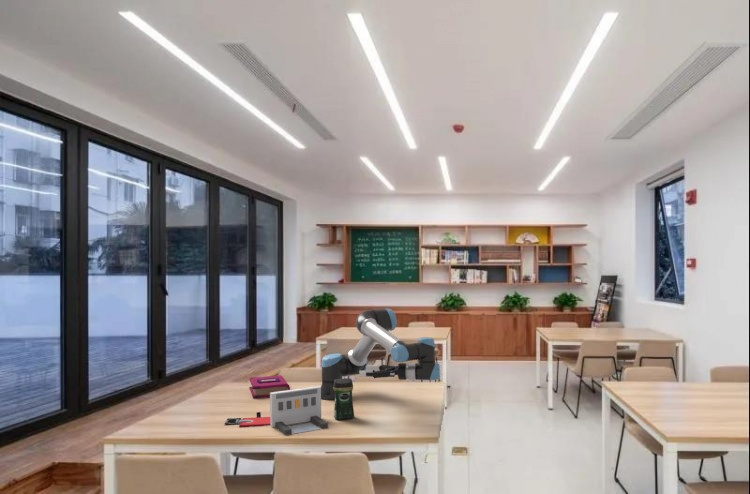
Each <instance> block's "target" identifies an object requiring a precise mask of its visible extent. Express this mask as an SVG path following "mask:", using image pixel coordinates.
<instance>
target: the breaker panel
mask: <svg viewBox="0 0 750 494" xmlns="http://www.w3.org/2000/svg"><path fill="white" fill-rule="evenodd" d="M269 413H270V414H269V417H270V427H271V428H276V427H275V422H281V421H282V422H283V423H284V424H286V425H287V426H290V425H294V424H300V423H307V422H311V418H310V417H311V416H318V417H319V418H321V419H322V399H321V386H320V385H316V386H310V387H309V386H308V387H302V388H301V387H300V388H295V389H290V390H286V391H278V392H271V393H270V397H269Z"/></svg>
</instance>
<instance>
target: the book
mask: <svg viewBox="0 0 750 494" xmlns="http://www.w3.org/2000/svg"><path fill="white" fill-rule="evenodd" d="M249 382H250V384H251V385H250V386H249V388H248V389H249V390H250V393H251V396H252V399H253V400H254V399H264V398H265V397H266V398H270V393H271V392H278V391H286V390H291V387H290V386H291V385H289V383H288V382H287V380H286V379H285V378H284V376H283V375H281V374H280V375H270V376H267V375H266V376H257V377H256V376H254V377H249Z"/></svg>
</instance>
